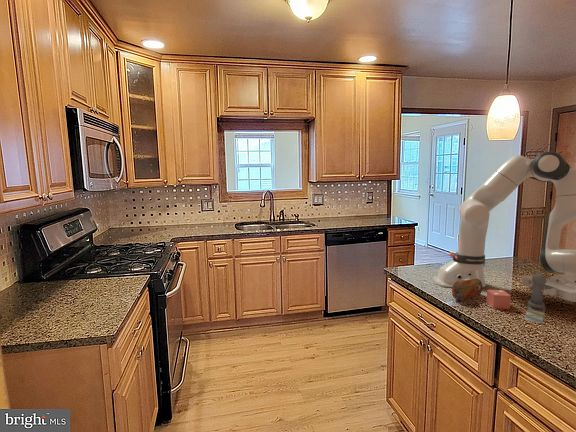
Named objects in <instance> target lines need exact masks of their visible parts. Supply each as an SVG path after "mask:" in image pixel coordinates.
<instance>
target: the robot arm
mask: <svg viewBox="0 0 576 432" xmlns="http://www.w3.org/2000/svg"><path fill="white" fill-rule="evenodd" d="M526 179H531V180H534V181H535V180H536V181H538V182H543V183H548V182H552V183H553V184H554V187H555V195H556V196H555V203H554V206H553V209H552V210H551V211H549V212H548V214H547V218H546V221H545V222H546V223H545V229H544V234H543V241H542V242H543V243H542V247H541V251H540V254H539V257H538V258H539V259H538V260H539V265H540V266H541V268H543V269H544V270H545V271H546V272H548V273H558V274H554V275H552V276H550V278H547V277H545V278H546V283H545V285H544V289H541V294H543V296H546V295H548V296H549V295H550V296H553V297H556V298H560V299H563V300H565V301H568V302H571V303H576V249H574V248H573V249H571V248H570V249H569V248H568V249H567V248H560V242H561V241H560V240H561V235H562V229H563V228H564V227H565V225H567V224H569V223H570V222H573V221H575V220H576V167H575V168H574V167H573V168H571V166H570V165H569V163H568V161H566V160H565V158H564V157H563V156H562V155H561V154H559V153H558V152H556V151H544V152H541V153H539V154H537V155H536V156H535V157H534V158H532V159H530V158H528V157H526V156H524V155H519V154H517V155H513V156H511V157H509V158H508V159H507V160H506V161H504V162H503V163H502V165H500V166H499V167H498V168H497V169H496V170H495V171H494V172H493V173H492V174H491V175H490V176H489V177H488V178H487V179H485V181H484V182H483V184H482V185H480V186H479V187H478V188H477V189H476V190H475V191H473V192H472V194H470V195H469V196H468V197H467V198H466V199H465V200H464V201H463V202H462V203H461V204H460V205H459V208H458V213H459V216H460V222H459V232H458V241H457V252H453V251H450V252H449V256H450V257H451V258H452V260H450V261H449V262H447V263H445V264H444V265H442V266H440V268H439V270H438V273H437V274H438V275H434V276H432V280H433V282H434V283H435V284H436V285H438V286H440V287H443V288H452V287H453V285H454V283H455V282H456V281H458V280H463V279H467V278H476V279H479V280H480V281H481V283H482V288H485V287H486V286H487V283H486V278H485V264H486V255H485V248H486V238H487V237H486V236H487V233H488V227H489V220H490V214H491V213H490V212H491V211H492V210H493V209H494V208H496V207H497V206H498V205H500V204H501V203H502V202H504V201H505V200H506V199H507V198H508V197H509V196H510V195H511V194H512V193H513V192H514V191H515V190H516V189H517V188H518V187H519V186H520V185H521V184H522V183H524V181H525V180H526ZM559 273H561V274H559ZM534 275H535V274H533V275H523V276H522V278H521V284H522V286H524V287H527V289H528V290H531V291H532V286H533V282H532V277H533V276H534Z"/></svg>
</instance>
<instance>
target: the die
mask: <svg viewBox="0 0 576 432" xmlns="http://www.w3.org/2000/svg"><path fill="white" fill-rule="evenodd" d="M486 291H487V292H486V301H485V302H486V303H487V304H488V305H489V306H490V307H491V308H492V309H505V310H510V309H511V302H512V301H511V299H512V296H511V294H509V293H508V291H505V290H504V289H486Z"/></svg>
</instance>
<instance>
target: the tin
mask: <svg viewBox="0 0 576 432" xmlns="http://www.w3.org/2000/svg"><path fill="white" fill-rule="evenodd" d="M451 288H452V289H451V294H452V297H453V298H454V299H455V300H458V301H460V302H465V301H466V302H467V301H470V300H474V298H473V297H476V296H480V295H481V294H482V292H483V291H482V290H483V287H482V283H481V281H480V280H479V279H476V278H467V279H463V280H458V281H456V282H455V283H454V285H453V287H451Z"/></svg>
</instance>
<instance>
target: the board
mask: <svg viewBox="0 0 576 432" xmlns="http://www.w3.org/2000/svg"><path fill="white" fill-rule="evenodd" d="M527 308H528V309H526V313H525V316H524V320H525V321H530V322H533V323H538V324H543V322H544V318H545V313H546V309H547V308H546V307H545V308H534V307H531V306H529V305H528V307H527Z"/></svg>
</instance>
